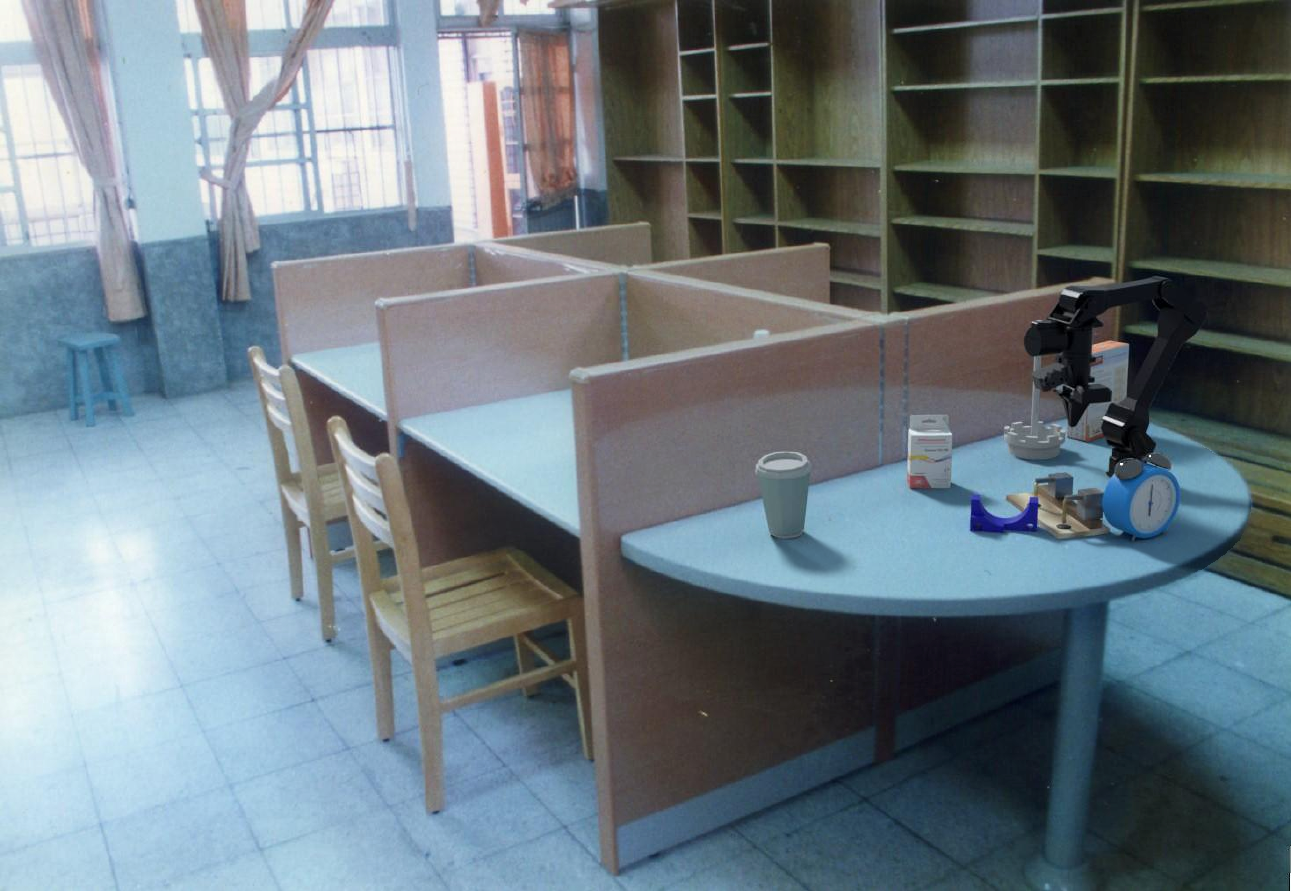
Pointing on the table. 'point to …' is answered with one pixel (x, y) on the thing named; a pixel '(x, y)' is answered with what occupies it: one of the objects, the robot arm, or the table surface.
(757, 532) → the table surface
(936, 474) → the ink cartridge box
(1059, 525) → the hole plate
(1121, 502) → the alarm clock
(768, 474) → the disposable coffee cup
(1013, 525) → the blue cradle bracket
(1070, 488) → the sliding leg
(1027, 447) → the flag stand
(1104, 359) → the cracker box
